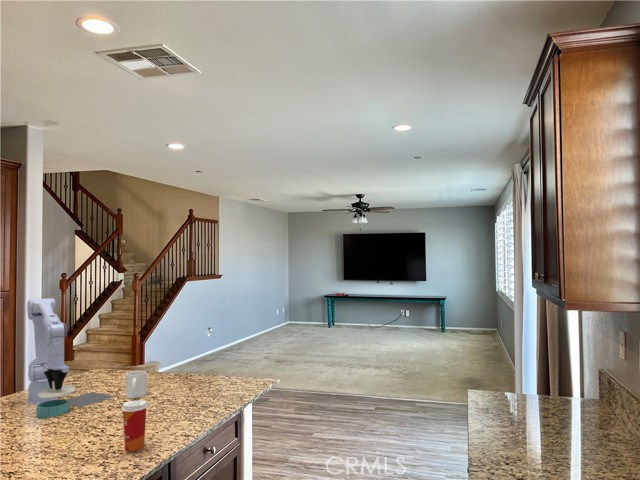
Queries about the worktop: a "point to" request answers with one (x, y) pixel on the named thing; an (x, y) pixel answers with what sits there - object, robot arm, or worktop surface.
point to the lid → (56, 392)
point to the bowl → (52, 408)
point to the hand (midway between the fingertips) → (55, 388)
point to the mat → (88, 399)
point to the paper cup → (134, 424)
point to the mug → (136, 384)
